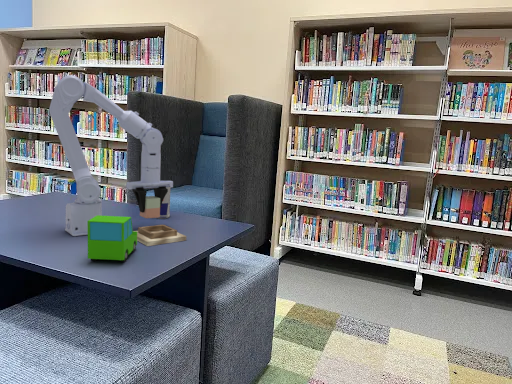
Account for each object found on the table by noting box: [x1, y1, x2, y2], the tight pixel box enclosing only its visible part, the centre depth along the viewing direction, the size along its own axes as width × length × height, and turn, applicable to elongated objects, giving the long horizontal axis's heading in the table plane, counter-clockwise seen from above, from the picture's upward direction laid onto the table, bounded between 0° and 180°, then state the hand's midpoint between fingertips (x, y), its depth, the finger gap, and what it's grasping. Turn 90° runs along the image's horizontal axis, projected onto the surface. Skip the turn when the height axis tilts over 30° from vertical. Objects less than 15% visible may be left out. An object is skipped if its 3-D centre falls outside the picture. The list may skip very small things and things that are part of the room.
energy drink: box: [156, 187, 171, 220], centre depth 144 cm, size 5×5×12 cm
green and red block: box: [139, 195, 160, 219], centre depth 127 cm, size 4×4×6 cm
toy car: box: [87, 215, 138, 263], centre depth 100 cm, size 10×13×10 cm
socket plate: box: [133, 224, 187, 247], centre depth 117 cm, size 12×12×3 cm
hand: (149, 211), depth 127 cm, fingers closed on green and red block, 4 cm apart
